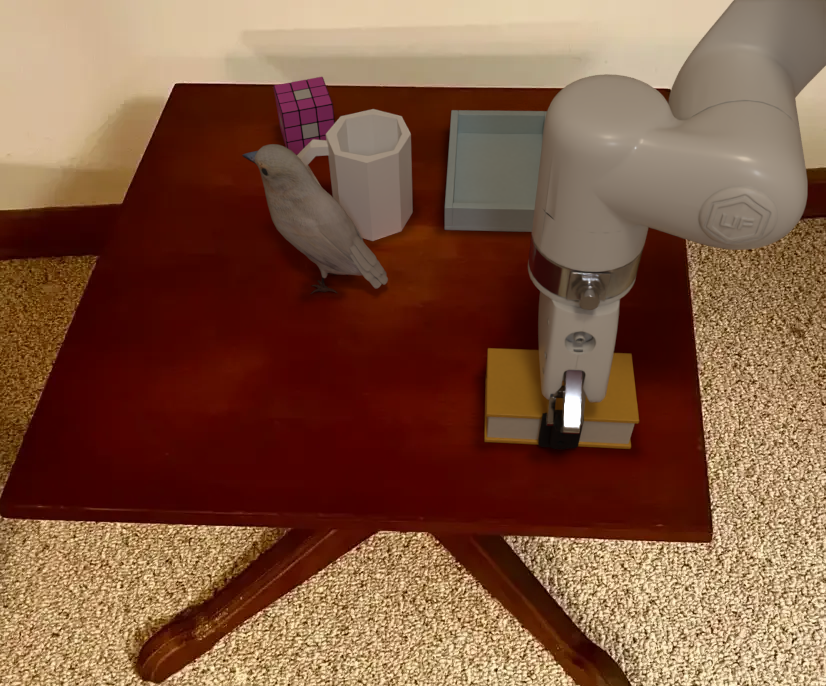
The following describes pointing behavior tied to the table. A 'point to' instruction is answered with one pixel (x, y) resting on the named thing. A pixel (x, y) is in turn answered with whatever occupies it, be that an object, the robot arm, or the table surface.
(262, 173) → the bird
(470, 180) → the tray
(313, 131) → the puzzle toy
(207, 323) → the table surface
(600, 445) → the book
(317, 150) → the mug
